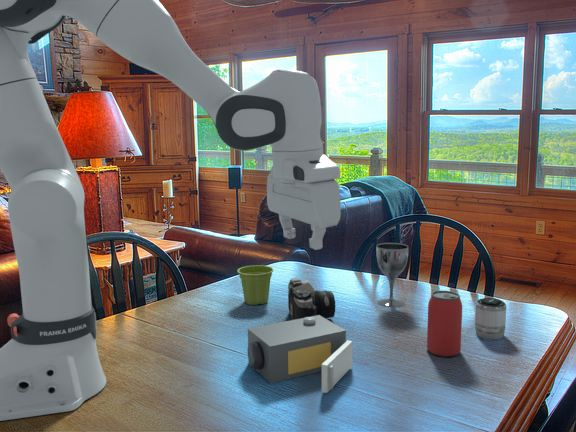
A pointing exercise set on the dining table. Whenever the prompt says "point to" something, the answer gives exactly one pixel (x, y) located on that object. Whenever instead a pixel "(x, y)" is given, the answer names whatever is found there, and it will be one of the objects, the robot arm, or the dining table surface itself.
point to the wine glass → (392, 267)
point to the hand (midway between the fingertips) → (302, 243)
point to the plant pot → (255, 283)
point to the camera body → (293, 347)
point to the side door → (336, 366)
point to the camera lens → (490, 318)
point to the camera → (309, 300)
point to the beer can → (444, 323)
